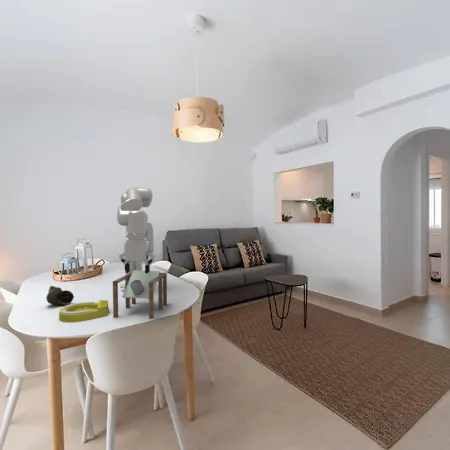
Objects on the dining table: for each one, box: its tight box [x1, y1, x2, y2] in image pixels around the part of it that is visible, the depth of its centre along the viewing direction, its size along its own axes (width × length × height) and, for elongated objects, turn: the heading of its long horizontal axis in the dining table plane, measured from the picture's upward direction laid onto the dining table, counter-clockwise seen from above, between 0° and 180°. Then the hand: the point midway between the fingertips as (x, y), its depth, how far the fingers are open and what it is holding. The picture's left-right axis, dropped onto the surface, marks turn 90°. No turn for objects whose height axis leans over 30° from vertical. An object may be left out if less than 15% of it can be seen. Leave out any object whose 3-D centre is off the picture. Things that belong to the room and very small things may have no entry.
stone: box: [130, 280, 144, 295], centre depth 135 cm, size 5×5×5 cm
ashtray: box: [58, 299, 109, 323], centre depth 134 cm, size 16×21×5 cm
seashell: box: [46, 285, 75, 306], centre depth 147 cm, size 11×11×10 cm
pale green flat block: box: [122, 270, 161, 300], centre depth 141 cm, size 15×16×5 cm
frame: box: [112, 272, 168, 320], centre depth 140 cm, size 19×21×17 cm
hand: (137, 272), depth 134 cm, fingers open, 9 cm apart
